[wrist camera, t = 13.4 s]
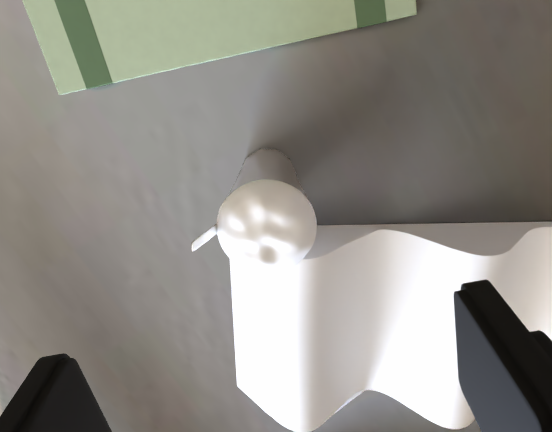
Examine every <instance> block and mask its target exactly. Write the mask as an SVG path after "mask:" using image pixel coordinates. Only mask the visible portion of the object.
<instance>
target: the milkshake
mask: <svg viewBox="0 0 552 432" xmlns="http://www.w3.org/2000/svg"><path fill="white" fill-rule="evenodd" d="M316 232H317V221H316V216H315V212H314V209H313V207H312V205H311V203H310V201H309V199H308V197H307V195H306V194H305V192H304V190H303V188H302V186H301V184H300V182H299V179H298V177H297V174H296V172H295V169H294V167H293V165H292V162H291V160H290V158H288V157H287V156H285V155H284V154H283V153H281V152H280V151H279V150H277V149H258V150H257V151H256V152H254V153H253V154H251V155H250V156H248V157H247V158H246V159H245V161H244V163H243V165H242V168H241V170H240V172H239V174H238V177H237V179H236V181H235V183H234V185H233V187H232V188H231V190H230V192H229V194H228V195H227V197H226V199H225V201H224V202H223V204H222V205H221V207H220V210H219V213H218V217H217V224H215V225H214V226H213V227H211V228H210V229H209V230H207V231H206V232H205V233H203V234H202V235H201V236H200V237H198V238H197V239H196V240H194V241H193V242H192V252H194V251H195V250H196V249H198V248H199V247H200V246H202V245H203V244H204V243H205V242H207V241H208V240H209V239H210V238H212V237H213V236H214V235H216V234H218V239H219V242H220V244H221V247H222V249H223V250H224V252H225V253H226V254H227V255H228V256H229V257H230V258H231V259H232V260H233V261H234V262H236V263H237V264H239V265H240V266H242V267H244V268H246V269H248V270H251V271H257V272H269V273H274V272H281V271H285V270H288V269H291V268H293V267H294V266H296V265H297V264H298V263H299V262H300V261H301V260H302V259H303V258H304V257H305V255H306V254H307V253H308V252H309V251H310V249H311V248H312V246H313V244H314V241H315V238H316Z"/></svg>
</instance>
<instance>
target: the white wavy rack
mask: <svg viewBox="0 0 552 432" xmlns="http://www.w3.org/2000/svg"><path fill="white" fill-rule="evenodd" d="M230 272H231V289H232V306H233V323H234V340H235V357H236V374H237V386H238V387H239V388H240V389H241V390H242V391H243V392H244V393H245V394H247V395H248V396H249V397H250V398H251V399H252V400H253V401H254V402H255V403H256V404H257V405H258V406H260V407H261V408H262V409H263V410H264V411H265V412H266V413H267V414H269V415H270V416H271V417H272V418H274V419H275V420H276V421H277V422H279V423H280V424H281V425H283V426H284V427H286V428H288V429H290V430H292V431H295V432H309V431H313V430H314V429H316V428H318V427H320V426H321V425H322V424H323V423H324V422H325V421H327V420H328V419H329V418H330V417H331V416H332V415H333V414H334V413H336V412H337V411H338V410H340V409H341V408H342V407H344V406H345V405H346V404H348V403H349V402H350V401H351V400H353V399H354V398H355V397H357V396H358V395H359V394H361V393H362V392H363V391H365V390H374V391H379V392H381V393H384V394H386V395H389V396H390V397H392V398H394V399H396V400H398V401H399V402H401V403H402V404H404V405H406V406H407V407H409V408H410V409H412V410H413V411H415V412H416V413H418V414H419V415H421V416H423V417H424V418H426V419H428V420H430V421H432V422H434V423H435V424H437V425H439V426H442V427H445V428H449V429H461V428H464V427H467V426H468V425H469V424H471V423H472V422H473V421H474V420H475V417H474V415H473V413H472V411H471V409H470V407H469V405H468V403H467V401H466V399H465V397H464V395H463V392H462V390H461V387H460V383H459V378H458V363H457V346H456V329H455V312H454V292H455V291H459V290H461V284H463V283H468V282H474V281H480V280H485V279H486V280H489V281H490V282H491V284H492V285H493V286H494V287H495V289H496V290H497V291H498V293H499V294H500V295H501V296H502V298H503V299H504V300H505V301H506V303H507V304H508V305H509V306H510V308H511V309H512V310H513V311H514V313H515V314H516V315H517V317H518V318H519V319H520V320H521V322H522V323H523V324H524V325H525V327H526V328H527V329H528V330H529V332H531V331H537V330H540V331H542V332H544V333H545V334H546V335H547V336H548V337H549V338H550V339H551V341H552V222H497V223H437V224H378V225H318V226H317V232H316V238H315V241H314V244H313V246H312V248H311V249H310V251H309V252H308V253H307V254H306V255H305V257H304V258H303V259H302V260H301V261H300V262H299V263H298V264H297V265H296V266H294V267H293V268H291V269H288V270H285V271H281V272H274V273H269V272H257V271H251V270H248V269H246V268H244V267H242V266H240V265H239V264H237V263H236V262H234V261H233V260H232V259H231V258H230Z"/></svg>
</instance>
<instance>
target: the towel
mask: <svg viewBox="0 0 552 432" xmlns="http://www.w3.org/2000/svg"><path fill="white" fill-rule="evenodd" d="M22 1H23V3H24V6H25V8H26V11H27V14H28V16H29V19H30V21H31V24H32V26H33V29H34V32H35V34H36V37H37V39H38V42H39V44H40V47H41V50H42V52H43V55H44V57H45V60H46V62H47V65H48V67H49V70H50V73H51V75H52V78H53V80H54V83H55V85H56V88H57V91H58V93H59V95H62V94H66V93H71V92H75V91H80V90H84V89H90V88H95V87H99V86H104V85H108V84H113V83H115V82H120V81H124V80H129V79H133V78H138V77H142V76H146V75H151V74H155V73H160V72H164V71H169V70H173V69H178V68H182V67H186V66H191V65H195V64H200V63H204V62H209V61H213V60H218V59H222V58H226V57H231V56H235V55H240V54H244V53H249V52H253V51H258V50H262V49H266V48H271V47H275V46H280V45H284V44H289V43H293V42H298V41H302V40H306V39H311V38H315V37H320V36H324V35H329V34H333V33H337V32H342V31H346V30H351V29H355V28H362V27H366V26H371V25H375V24H379V23H384V22H387V21H391V20H395V19H400V18H404V17H409V16H413V15H416V14H417V9H416V0H22Z"/></svg>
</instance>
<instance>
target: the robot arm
mask: <svg viewBox="0 0 552 432" xmlns="http://www.w3.org/2000/svg"><path fill="white" fill-rule="evenodd" d="M454 312H455V329H456V346H457V363H458V378H459V383H460V387H461V390H462V392H463V395H464V397H465V399H466V401H467V403H468V405H469V407H470V409H471V411H472V413H473V415H474V417H475V419H476V421H477V423H478V425H479V427H480V429H481V431H482V432H552V341H551V339H550V338H549V337H548V336H547V335H546V334H545V333H544V332H542V331H540V330H537V331H531V332H529V330H528V329H527V328H526V327H525V325H524V324H523V323H522V322H521V320H520V319H519V318H518V317H517V315H516V314H515V313H514V311H513V310H512V309H511V308H510V306H509V305H508V304H507V303H506V301H505V300H504V299H503V298H502V296H501V295H500V294H499V293H498V291H497V290H496V289H495V287H494V286H493V285H492V284H491V282H490V281H489V280H486V279H485V280H480V281H474V282H468V283H463V284H461V290H459V291H455V292H454ZM0 432H112V431H111V429H110V427H109V425H108V423H107V421H106V419H105V417H104V415H103V413H102V411H101V409H100V407H99V405H98V403H97V401H96V399H95V397H94V395H93V393H92V391H91V389H90V387H89V385H88V383H87V381H86V379H85V377H84V375H83V373H82V371H81V369H80V367H79V365H78V363H77V361H76V360H75V359H74V358H70V357H69V356H68V355H67V354H57V355H52V356H46V357H42V358H40V359H39V360H38V361H37V362H36V364H35V365H34V367H33V368H32V370H31V371H30V373H29V374H28V376H27V377H26V379H25V380H24V382H23V383H22V385H21V386H20V388H19V389H18V391H17V392H16V394H15V395H14V397H13V398H12V400H11V401H10V403H9V404H8V406H7V407H6V409H5V410H4V412H3V413H2V415H1V416H0Z"/></svg>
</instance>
